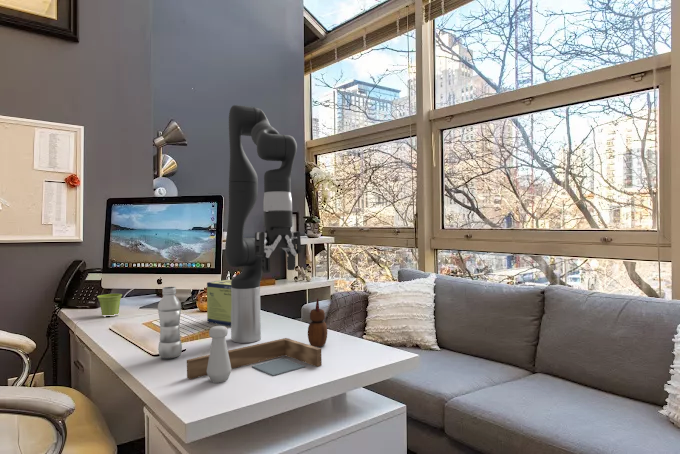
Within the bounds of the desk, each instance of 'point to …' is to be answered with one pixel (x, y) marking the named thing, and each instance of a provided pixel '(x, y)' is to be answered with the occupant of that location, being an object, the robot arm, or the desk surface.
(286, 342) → the wooden l-shaped bracket
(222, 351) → the salt shaker
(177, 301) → the plastic bottle
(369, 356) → the desk surface
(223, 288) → the protein box
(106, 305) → the plant pot
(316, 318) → the wooden figurine
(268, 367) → the pad
